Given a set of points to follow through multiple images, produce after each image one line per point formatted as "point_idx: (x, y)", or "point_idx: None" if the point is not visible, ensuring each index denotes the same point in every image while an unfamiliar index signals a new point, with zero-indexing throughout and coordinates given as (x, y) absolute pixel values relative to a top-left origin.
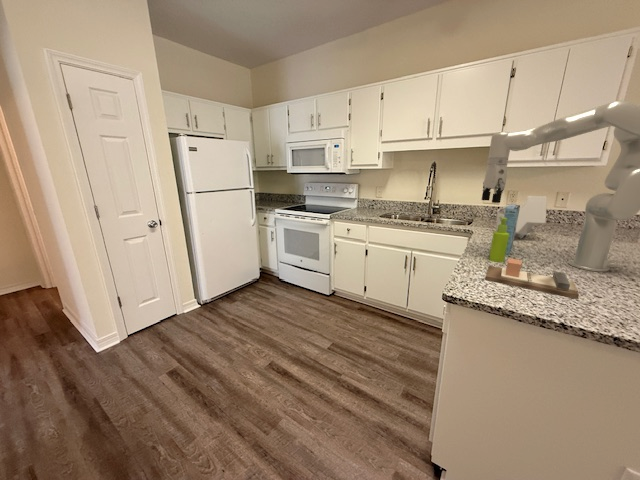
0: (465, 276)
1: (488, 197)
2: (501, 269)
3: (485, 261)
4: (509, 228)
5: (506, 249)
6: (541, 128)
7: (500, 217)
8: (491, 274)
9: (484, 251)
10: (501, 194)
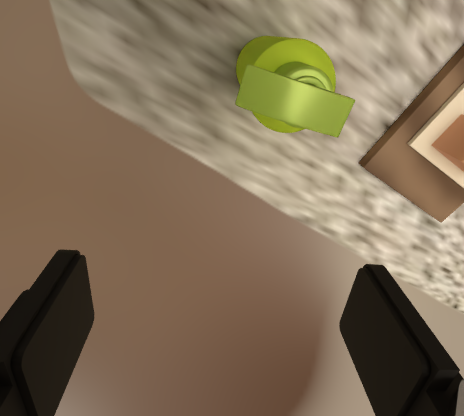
0: (399, 253)
1: (72, 292)
2: (405, 144)
3: None
4: None
5: None
6: None
7: (275, 118)
8: (434, 201)
9: (127, 45)
10: (450, 358)
